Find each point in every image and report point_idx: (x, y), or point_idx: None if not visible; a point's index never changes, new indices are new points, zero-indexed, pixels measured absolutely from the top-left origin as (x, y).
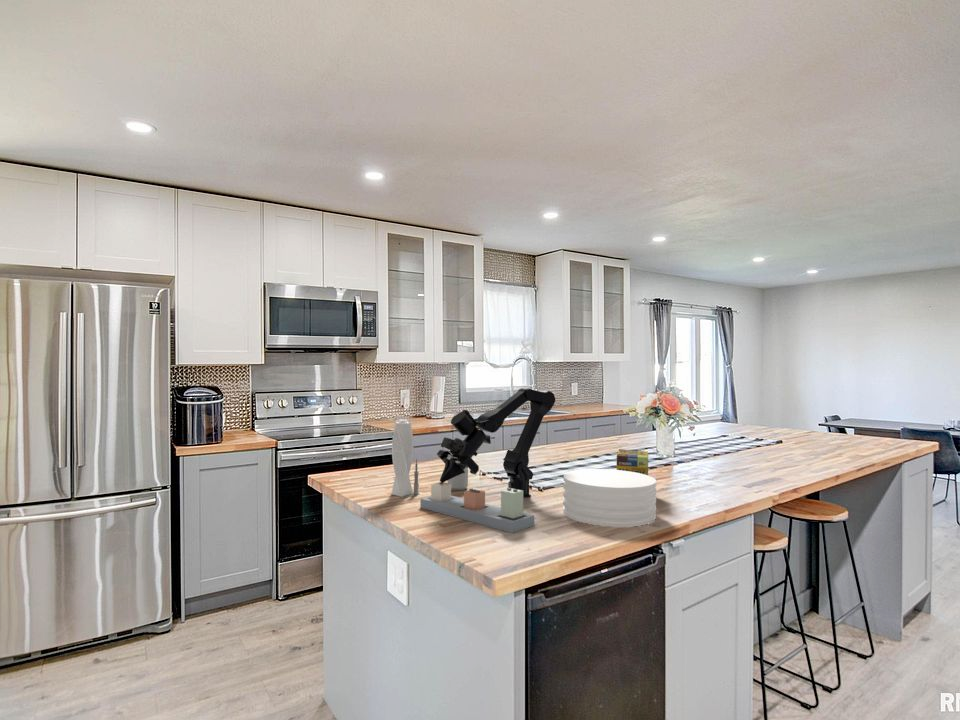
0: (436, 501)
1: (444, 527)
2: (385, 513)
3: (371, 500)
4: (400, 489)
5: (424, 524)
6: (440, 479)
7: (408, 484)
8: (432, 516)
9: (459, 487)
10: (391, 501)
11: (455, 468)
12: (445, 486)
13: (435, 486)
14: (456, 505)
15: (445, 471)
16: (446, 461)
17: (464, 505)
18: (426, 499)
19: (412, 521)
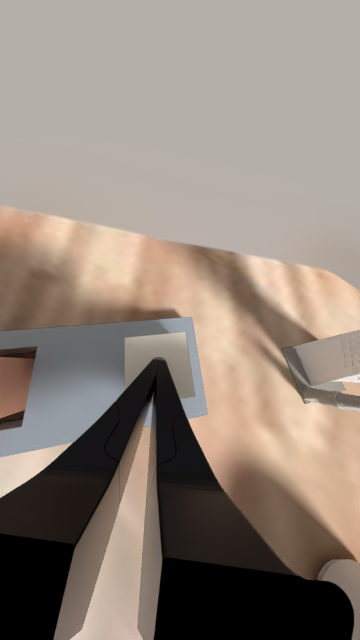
0: (139, 331)
1: (28, 269)
2: (192, 254)
3: (287, 285)
4: (315, 344)
5: (80, 257)
6: (160, 361)
7: (336, 371)
8: (110, 300)
9: None
10: (264, 308)
11: (64, 547)
12: (126, 365)
13: (160, 335)
14: (55, 348)
15: (156, 411)
16: (206, 543)
17: (15, 358)
18: (175, 323)
19: (114, 255)
